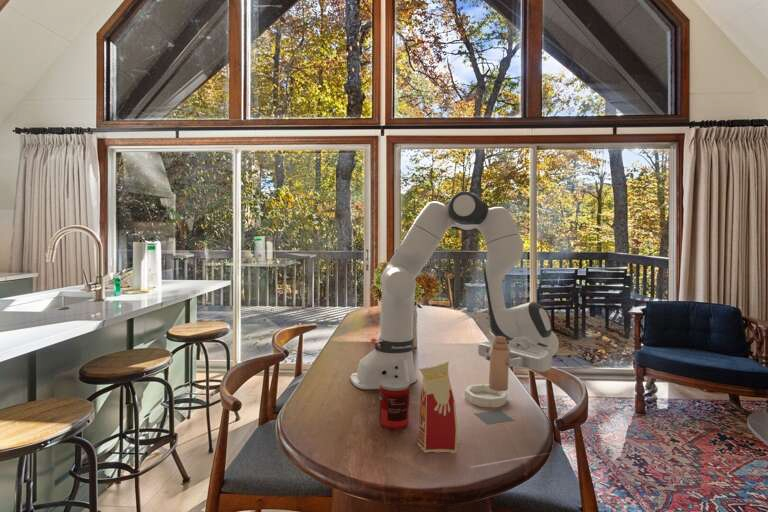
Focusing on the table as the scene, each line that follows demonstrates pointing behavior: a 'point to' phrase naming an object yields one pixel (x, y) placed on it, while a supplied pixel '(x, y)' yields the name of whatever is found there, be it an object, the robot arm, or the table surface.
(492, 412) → the felt mat
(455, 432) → the milk carton
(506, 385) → the tan knobbed cylinder
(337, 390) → the table surface
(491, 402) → the bowl
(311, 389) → the table surface
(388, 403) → the canned food
